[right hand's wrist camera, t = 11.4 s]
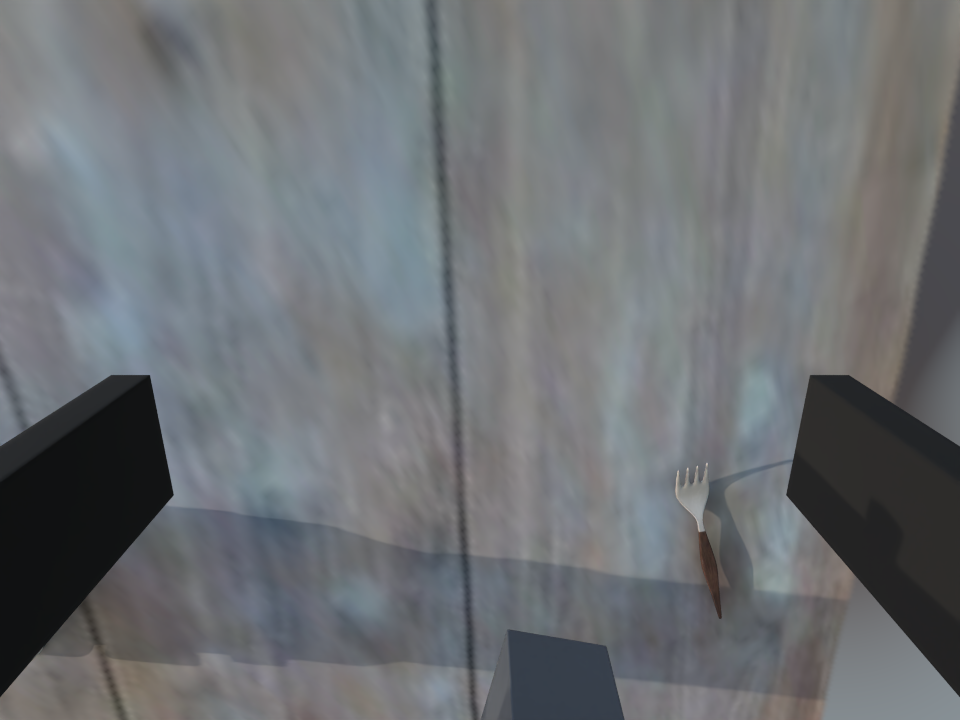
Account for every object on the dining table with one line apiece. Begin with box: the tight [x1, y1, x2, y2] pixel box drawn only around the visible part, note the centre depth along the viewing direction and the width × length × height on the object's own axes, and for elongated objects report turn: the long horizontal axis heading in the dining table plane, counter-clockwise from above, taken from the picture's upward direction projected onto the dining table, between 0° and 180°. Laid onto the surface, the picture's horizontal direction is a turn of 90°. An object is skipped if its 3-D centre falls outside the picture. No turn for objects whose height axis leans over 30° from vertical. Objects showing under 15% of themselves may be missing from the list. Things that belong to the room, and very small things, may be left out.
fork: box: [676, 463, 722, 619], centre depth 48 cm, size 3×16×2 cm, turn 17°
